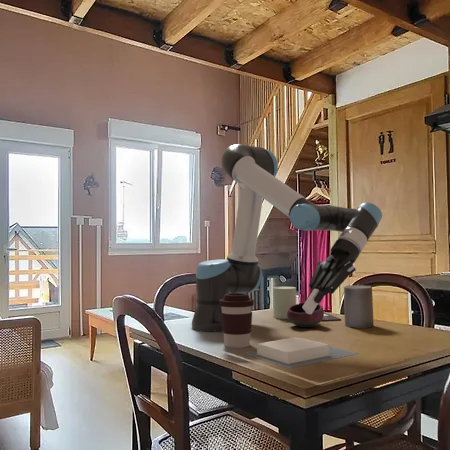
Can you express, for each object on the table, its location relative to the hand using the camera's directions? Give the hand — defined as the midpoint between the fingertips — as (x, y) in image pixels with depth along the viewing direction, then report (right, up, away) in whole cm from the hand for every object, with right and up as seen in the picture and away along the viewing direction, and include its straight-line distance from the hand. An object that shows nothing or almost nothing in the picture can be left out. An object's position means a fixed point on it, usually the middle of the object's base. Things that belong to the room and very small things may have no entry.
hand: (306, 310), depth 126 cm
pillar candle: (+25, -13, +40) cm, 49 cm away
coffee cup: (-18, -12, +10) cm, 24 cm away
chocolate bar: (+16, -14, +59) cm, 63 cm away
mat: (-2, -11, -2) cm, 12 cm away
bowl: (+6, -13, +42) cm, 44 cm away
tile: (+2, -9, +1) cm, 10 cm away
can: (+2, -14, +61) cm, 62 cm away
